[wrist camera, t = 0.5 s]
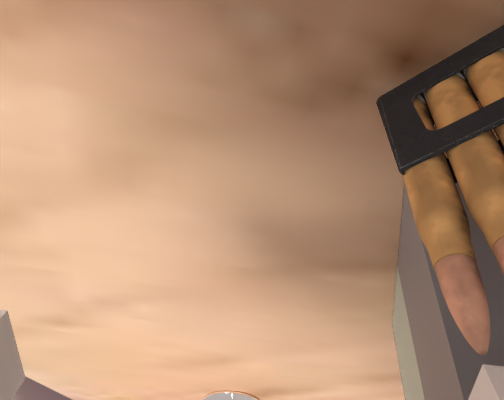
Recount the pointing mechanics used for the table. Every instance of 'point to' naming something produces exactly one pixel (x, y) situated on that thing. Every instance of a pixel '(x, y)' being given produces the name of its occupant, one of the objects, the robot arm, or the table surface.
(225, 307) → the table surface
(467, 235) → the ammunition clip
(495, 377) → the robot arm
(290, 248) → the table surface
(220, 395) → the wineglass
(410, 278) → the step stand
